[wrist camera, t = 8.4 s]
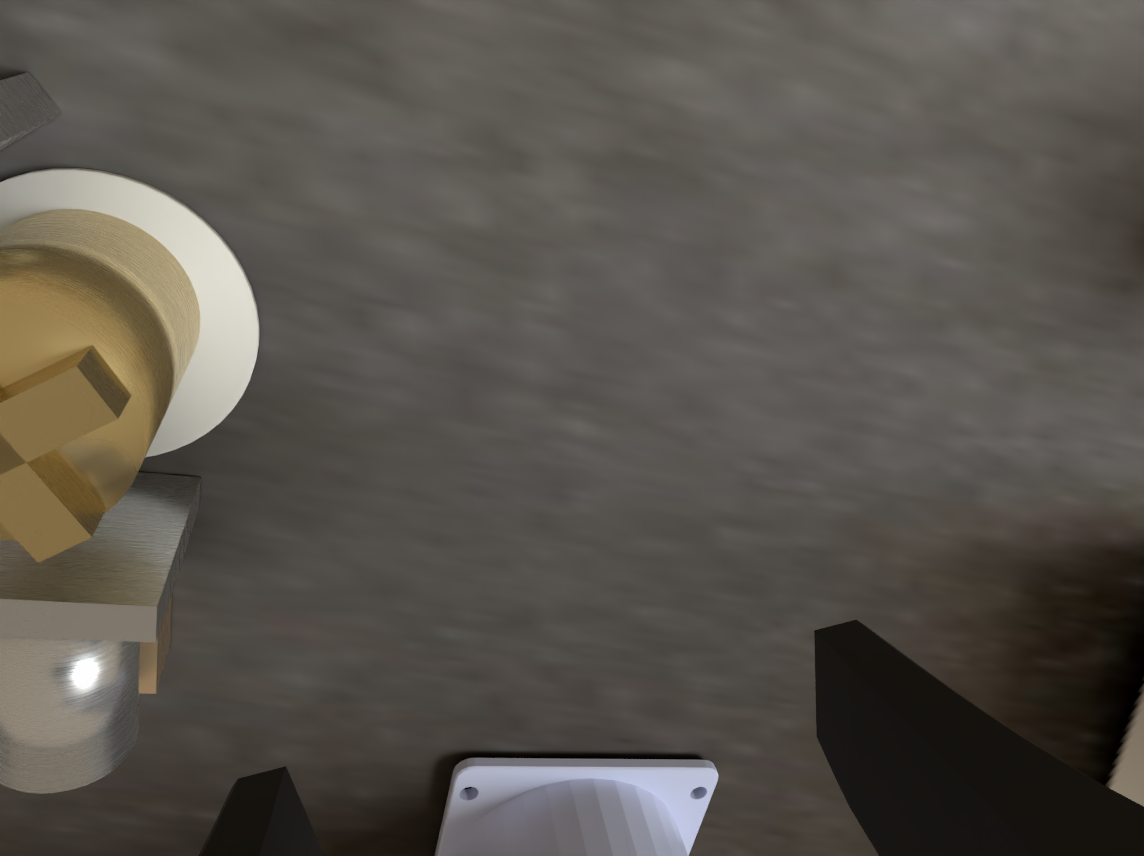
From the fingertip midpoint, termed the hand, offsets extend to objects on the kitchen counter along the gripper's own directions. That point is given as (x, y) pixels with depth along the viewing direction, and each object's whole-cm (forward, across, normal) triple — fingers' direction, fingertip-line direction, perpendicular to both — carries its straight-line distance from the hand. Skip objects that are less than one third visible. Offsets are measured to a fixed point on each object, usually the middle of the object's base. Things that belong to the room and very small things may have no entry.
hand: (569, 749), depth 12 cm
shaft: (+10, +9, +1) cm, 14 cm away
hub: (+10, +7, -4) cm, 13 cm away
